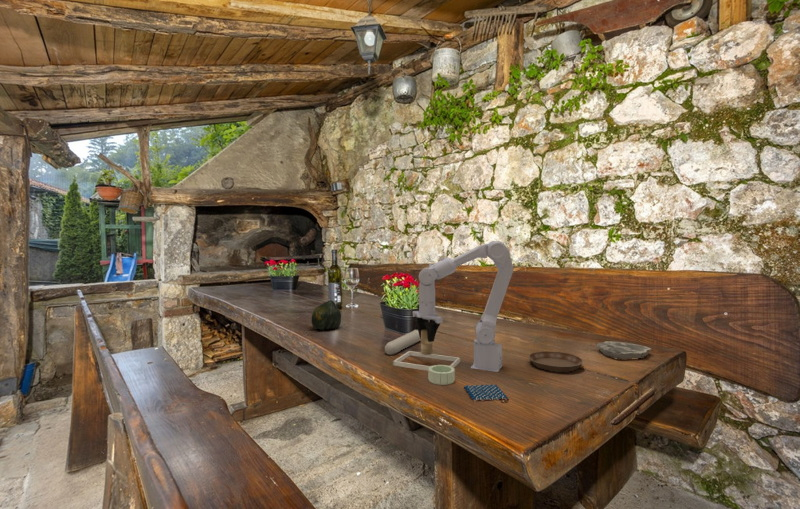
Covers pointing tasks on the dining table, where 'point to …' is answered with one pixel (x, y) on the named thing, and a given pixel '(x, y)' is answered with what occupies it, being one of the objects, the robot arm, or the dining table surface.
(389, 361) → the dining table surface
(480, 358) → the robot arm
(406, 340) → the tube
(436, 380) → the pale green short ring
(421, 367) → the beige rectangular frame
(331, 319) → the squash
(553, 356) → the plant saucer
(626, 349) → the grey stone slab
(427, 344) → the dowel pin
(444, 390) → the dining table surface
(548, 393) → the dining table surface
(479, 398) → the woven mat
